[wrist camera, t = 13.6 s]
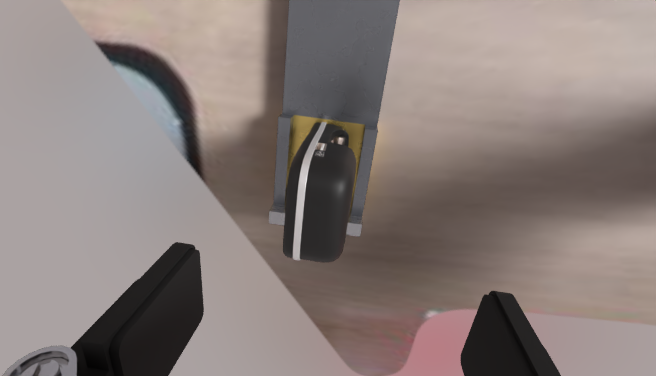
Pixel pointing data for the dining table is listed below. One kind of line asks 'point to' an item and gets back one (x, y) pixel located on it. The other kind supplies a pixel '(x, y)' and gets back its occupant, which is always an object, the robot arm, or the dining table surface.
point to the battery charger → (319, 195)
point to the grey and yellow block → (334, 85)
